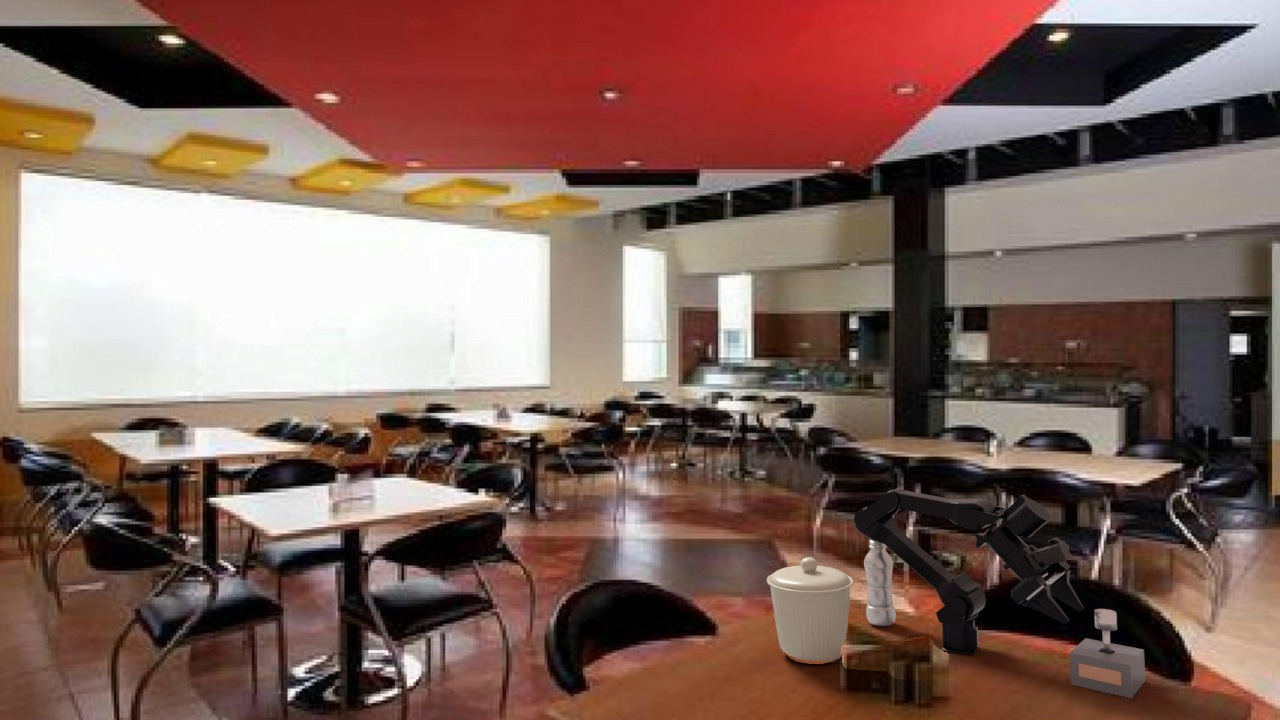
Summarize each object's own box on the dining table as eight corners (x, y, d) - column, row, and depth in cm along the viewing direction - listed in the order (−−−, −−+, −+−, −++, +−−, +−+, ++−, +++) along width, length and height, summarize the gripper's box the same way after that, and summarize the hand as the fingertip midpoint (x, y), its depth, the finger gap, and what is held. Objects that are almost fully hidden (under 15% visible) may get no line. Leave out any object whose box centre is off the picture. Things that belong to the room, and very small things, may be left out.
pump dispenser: (1070, 684, 151) (1069, 653, 151) (1086, 668, 158) (1085, 638, 158) (1131, 699, 144) (1129, 665, 144) (1145, 681, 151) (1143, 649, 151)
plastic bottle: (897, 629, 184) (894, 543, 184) (867, 628, 186) (864, 543, 186) (894, 620, 191) (891, 537, 191) (865, 619, 192) (862, 536, 192)
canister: (752, 657, 171) (748, 559, 171) (803, 635, 183) (799, 543, 183) (823, 680, 157) (819, 573, 157) (873, 655, 170) (869, 556, 170)
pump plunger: (1093, 658, 151) (1091, 612, 151) (1099, 652, 154) (1097, 607, 154) (1115, 662, 149) (1113, 616, 149) (1120, 657, 151) (1118, 611, 151)
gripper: (1025, 535, 152) (1092, 604, 144) (1057, 518, 165) (1119, 580, 158) (985, 570, 157) (1047, 638, 150) (1019, 551, 171) (1077, 613, 163)
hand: (1074, 616), depth 155 cm, fingers open, 9 cm apart
